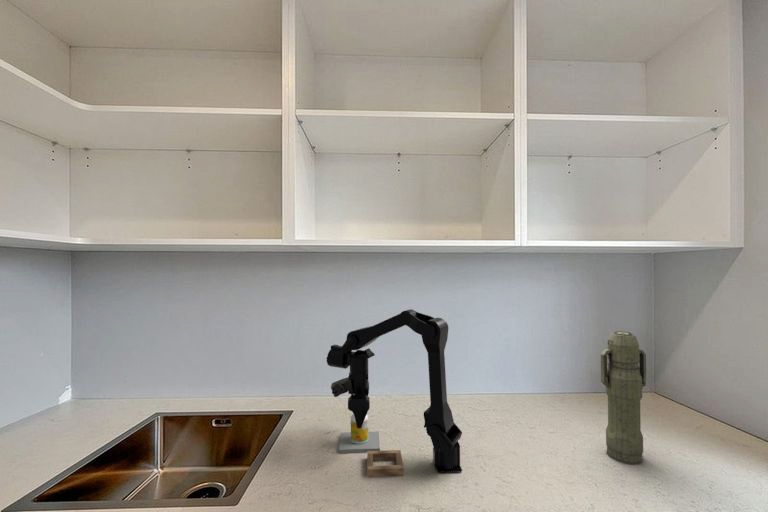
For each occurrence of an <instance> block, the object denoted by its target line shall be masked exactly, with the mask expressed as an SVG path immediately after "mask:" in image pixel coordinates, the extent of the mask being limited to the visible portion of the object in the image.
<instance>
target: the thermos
mask: <svg viewBox="0 0 768 512" xmlns="http://www.w3.org/2000/svg"><path fill="white" fill-rule="evenodd" d="M609 334H610V335H609V337H608V339H607V348H605V349H604V348H603V350H602V352H601V353H600V382H601V384H603V385H604V386H605V394H606V395H607V423H608V424H607V426H606V428H605V445H606V448H607V449H606V455H607V456H608V457H609V458H611V459H612V460H614V461H616V462H618V463H622V464H626V465H631V466H632V465H633V466H634V465H641V464H642V463H643V459H644V458H643V453H644V435H643V433H642V431H641V430H642V429H641V428H642V427H641V424H642V423H641V400H642V398H643V389H644V387H646V386H647V385H646V384H647V354H646V353H645V351H644V350H643V349H641V348H640V344H639V341H638V338H637V336H636V334H633V332H628V331H621V330H618V331H617V330H615V331H613V332H610V333H609Z"/></svg>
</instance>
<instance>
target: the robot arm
mask: <svg viewBox="0 0 768 512" xmlns="http://www.w3.org/2000/svg"><path fill="white" fill-rule="evenodd" d="M404 326H406V327H408V328H410V329H411V331H413V332H414V333H416V334H418V335H420V337H421V340H422V344H423V346H424V348H425V350H426V353H427V359H428V360H427V361H428V364H427V365H428V379H429V380H428V381H429V382H428V383H429V384H428V385H429V398H430V399H429V400H430V401H429V402H430V405H429V406H428V408H427V409H425V410H424V411H423V420H424V425H423V428H424V429H425V431H426V434H427V436H429V438H430V440H431V441H430V442H431V444H432V446H433V447H432V463H433V465H434V467H435V469H436V470H437V471H436V472H437V473H441V474H442V473H462V472H463V469H462V466H461V445H460V443H459V440H461V437H462V434H463V431H462V430H461V429H460V428H459V427H458V425H457V424H456V423H455V422H454V421H455V420H454V417H453V413H452V412H453V411H452V409H451V407H450V405H449V403H448V396H447V395H448V394H447V377H446V362H445V361H446V359H445V350H446V345H447V342H448V337H449V336H448V335H449V324H448V322H447V321H446V320H445V319H443V318H442V317H434V316H431V315H428V314H424V313H421V312H419V311H416V310H414V309H407V310H403V311H401V312H400V313H398V314H396V315H394V316H392V317H389V318H387V319H385V320H383V321H380V322H378V323H376V324H374V325H370V326H366V327H365V326H364V327H360V328H358V329H355V330H352V331H349V332H348V333H347V334H346V340H345V342H344V343H343V344H342V345H338V344H332V345H330V350H329V351H328V353H327V357H326V364H327V366H329V367H332V368H339V369H345V370H346V369H348V368H349V373H348V377H345V378H342V379H339V380H337V381H334V382H332V383H331V385H330V389H331V394H332V395H333V397H334V398H337V397H339V396H341V395H343V394H345V393H348V394H349V395H350V396H349V397H348V398H347V410H349V411H350V412H352V414H353V413H354V416H355V420H356V425H357V428H361V427H362V424H363V422H364V419H365V417H366V415H367V416H368V412H369V410H370V407H371V406H370V405H371V404H370V403H371V402H370V397H369V392H370V382H369V359H370V358H373V357H374V356H376V354H375V353H374V351H372V350H371V348H366V349H364V350H362V348H365V347H367V346H369V345H370V344H372V343H374V342H376V340H378V338H380V337H382V336H383V335H386V334H388V333H391V332H393V331H395V330H397V329H401V328H403V327H404Z"/></svg>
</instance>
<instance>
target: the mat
mask: <svg viewBox="0 0 768 512" xmlns="http://www.w3.org/2000/svg"><path fill="white" fill-rule="evenodd" d="M379 433H380V432H379V431H368V435H369V437H368V441H367V442H365V443H362V444H356V443H353V442H352V441H351V431H350V432H349V431H347V432H340V439H339V445H338V454H350V453H351V454H352V453H353V454H354V453H355V454H356V453H367V451H381V447H380V443H381V442H380V434H379Z"/></svg>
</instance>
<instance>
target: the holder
mask: <svg viewBox="0 0 768 512" xmlns="http://www.w3.org/2000/svg"><path fill="white" fill-rule="evenodd" d="M366 454H367V457H366V458H367V460H366V461H367V462H366V463H367V464H366V465H367V478H381V477H404V476H405V473H404V472H405V467H404V462H403V457H402V451H401V449H396V450H395V449H394V450H393V449H391V450H389V449H388V450H380V451H367V452H366ZM375 461H376V462H377V461H379V462H380V461H381V462H382V461H395V464H394V465H374V462H375Z"/></svg>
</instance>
